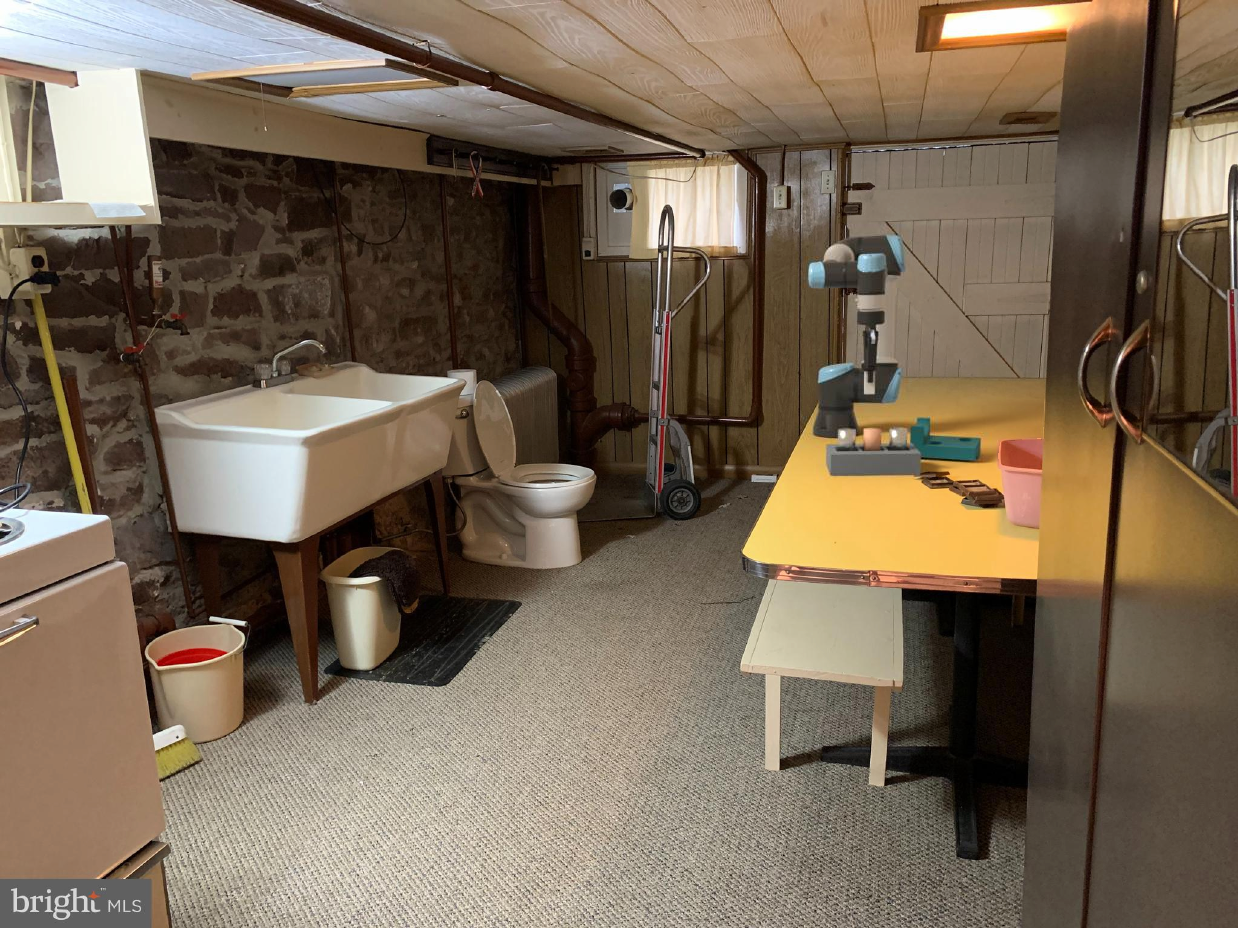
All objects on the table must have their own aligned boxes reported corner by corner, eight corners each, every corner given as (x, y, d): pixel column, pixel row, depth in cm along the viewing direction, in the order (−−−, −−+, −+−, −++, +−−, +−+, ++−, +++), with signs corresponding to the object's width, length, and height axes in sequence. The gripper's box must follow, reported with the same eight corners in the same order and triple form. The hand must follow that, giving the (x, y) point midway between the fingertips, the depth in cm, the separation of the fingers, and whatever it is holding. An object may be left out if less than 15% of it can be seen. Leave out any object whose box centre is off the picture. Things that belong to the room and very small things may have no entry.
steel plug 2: (887, 449, 266) (888, 427, 265) (905, 448, 265) (905, 427, 264) (890, 452, 261) (890, 430, 260) (908, 452, 261) (908, 430, 259)
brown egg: (862, 449, 267) (862, 428, 266) (879, 449, 266) (880, 427, 265) (864, 453, 262) (864, 431, 261) (882, 452, 262) (882, 430, 260)
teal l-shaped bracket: (910, 461, 277) (910, 426, 274) (917, 450, 286) (917, 417, 283) (974, 465, 268) (975, 430, 265) (980, 454, 277) (981, 420, 274)
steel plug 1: (837, 449, 268) (837, 428, 266) (854, 449, 267) (854, 428, 266) (838, 453, 263) (839, 431, 262) (856, 453, 263) (856, 431, 261)
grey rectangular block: (826, 464, 274) (826, 444, 272) (911, 463, 271) (911, 443, 269) (830, 475, 260) (830, 454, 259) (920, 474, 257) (920, 453, 256)
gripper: (854, 309, 270) (853, 390, 276) (860, 312, 258) (858, 397, 263) (881, 308, 269) (879, 390, 275) (888, 311, 257) (886, 397, 262)
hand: (869, 393), depth 269 cm, fingers closed
